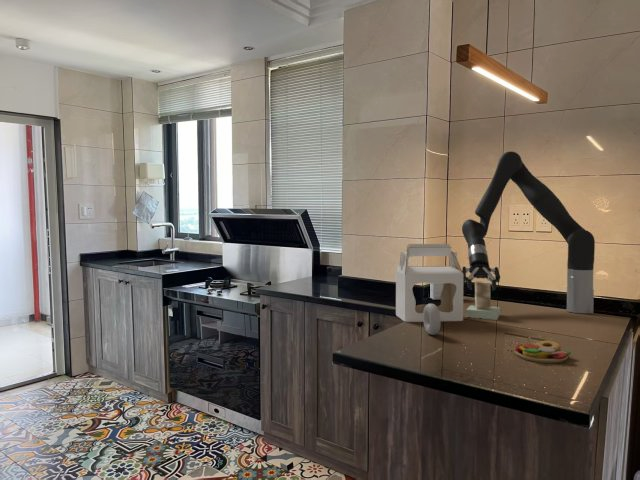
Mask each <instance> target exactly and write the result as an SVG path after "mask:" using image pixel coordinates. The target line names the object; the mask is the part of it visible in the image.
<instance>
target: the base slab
mask: <svg viewBox="0 0 640 480" xmlns="http://www.w3.org/2000/svg"><path fill="white" fill-rule="evenodd" d="M500 315H501V308H500V307H499V306H491V309H476V308H475V304H474V305H473V304H472V305H469V306H468V307H467V308H466V309H465V318H467V317H471V318H470V319H479V318H482V319H483V320H493V321H494V320H495V321H497V320H498V319H499V317H500ZM482 319H481V320H482Z"/></svg>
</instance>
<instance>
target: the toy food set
mask: <svg viewBox="0 0 640 480" xmlns="http://www.w3.org/2000/svg"><path fill="white" fill-rule="evenodd" d="M515 346H516V347H515V350H514V353H515V355H517V356H518V357H519V358H521V359H523V360H527V361H531V362H537V363H545V364H547V363H548V364H553V363H554V364H556V363H562V362H565V360H567V359H568V358H569V356H570V355H571V351H570V350H562V348H561V344H559V343H558V342H555V341H552V340H540V341H537V342H536V343H535V344H534V343H533V344H530V343H529V344H528V343H526V344H524V345H522V344H517V345H515Z"/></svg>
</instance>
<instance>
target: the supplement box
mask: <svg viewBox="0 0 640 480" xmlns="http://www.w3.org/2000/svg"><path fill="white" fill-rule="evenodd" d="M443 286H444V284H432V283H430V297H429V298H430V299H432V300H437V301H438V300H440V301H441V292H442V290H443Z"/></svg>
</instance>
